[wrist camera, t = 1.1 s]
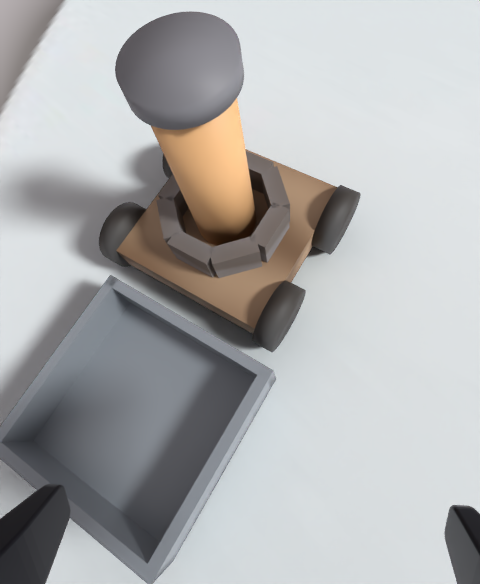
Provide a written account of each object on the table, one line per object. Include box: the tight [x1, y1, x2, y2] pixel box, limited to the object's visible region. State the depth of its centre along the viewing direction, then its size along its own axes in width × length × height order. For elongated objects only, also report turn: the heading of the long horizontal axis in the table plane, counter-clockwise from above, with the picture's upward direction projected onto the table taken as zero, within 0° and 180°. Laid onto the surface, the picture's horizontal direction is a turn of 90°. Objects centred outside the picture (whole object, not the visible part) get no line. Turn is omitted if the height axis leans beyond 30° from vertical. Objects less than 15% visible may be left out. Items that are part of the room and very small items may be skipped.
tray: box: [0, 275, 276, 584], centre depth 22 cm, size 11×11×4 cm
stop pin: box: [115, 12, 256, 246], centre depth 18 cm, size 4×4×11 cm
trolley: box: [99, 149, 360, 352], centre depth 24 cm, size 11×12×5 cm
